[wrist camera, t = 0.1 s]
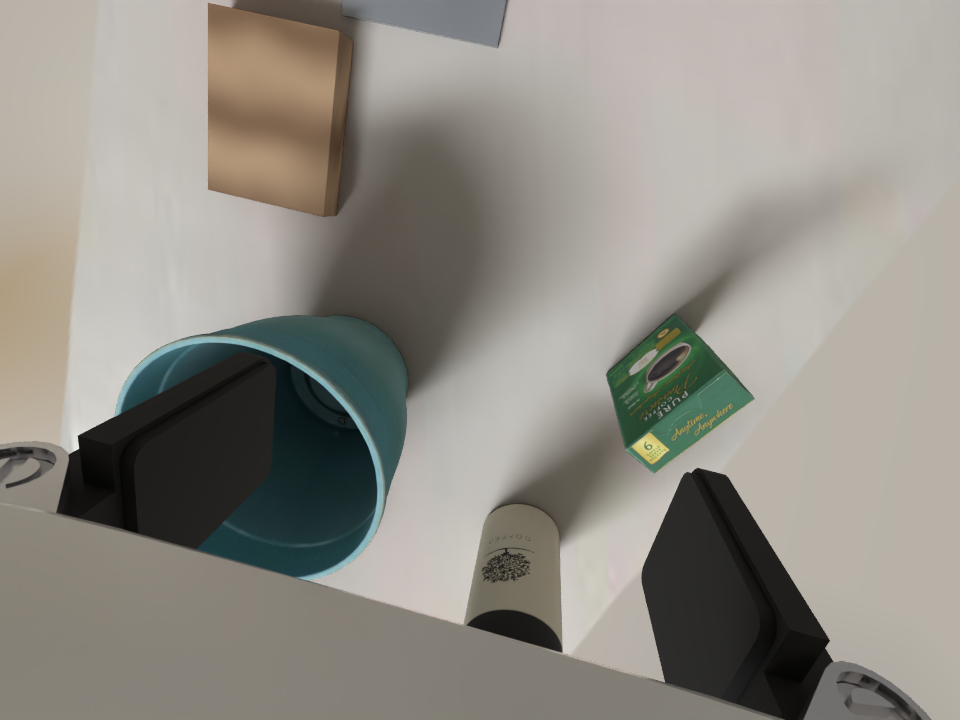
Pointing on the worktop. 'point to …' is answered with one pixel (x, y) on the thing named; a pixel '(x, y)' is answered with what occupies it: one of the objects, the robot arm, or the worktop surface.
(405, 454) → the worktop surface
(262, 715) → the robot arm
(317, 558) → the flower pot
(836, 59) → the worktop surface
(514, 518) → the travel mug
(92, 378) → the worktop surface
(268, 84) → the light tan stand
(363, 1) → the gray card
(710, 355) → the coffee box
